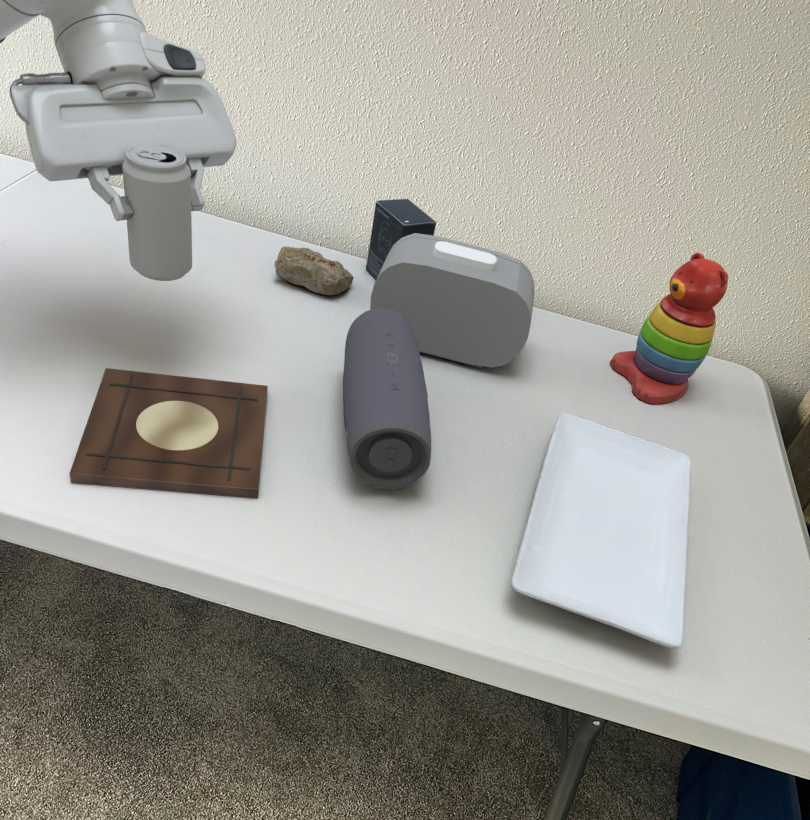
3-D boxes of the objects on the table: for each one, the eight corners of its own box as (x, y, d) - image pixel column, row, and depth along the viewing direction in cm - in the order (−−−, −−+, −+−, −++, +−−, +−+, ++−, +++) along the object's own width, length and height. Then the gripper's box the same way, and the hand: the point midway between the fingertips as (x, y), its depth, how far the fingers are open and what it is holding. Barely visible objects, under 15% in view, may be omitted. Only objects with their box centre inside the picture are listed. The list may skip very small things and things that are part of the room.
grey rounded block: (518, 344, 110) (547, 254, 101) (513, 380, 104) (544, 287, 94) (377, 308, 110) (393, 214, 101) (363, 341, 104) (379, 245, 94)
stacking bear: (604, 359, 112) (654, 240, 99) (662, 358, 115) (718, 242, 103) (641, 405, 105) (700, 283, 93) (702, 402, 108) (767, 284, 96)
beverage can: (189, 288, 82) (187, 172, 74) (125, 280, 81) (115, 161, 73) (195, 259, 87) (194, 146, 78) (134, 251, 85) (127, 136, 77)
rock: (338, 305, 109) (342, 276, 106) (264, 281, 110) (266, 252, 107) (355, 282, 114) (360, 254, 111) (284, 259, 115) (287, 231, 112)
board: (70, 482, 76) (68, 472, 75) (106, 376, 89) (105, 366, 88) (257, 498, 79) (258, 489, 78) (267, 394, 92) (267, 384, 91)
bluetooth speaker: (425, 502, 84) (446, 428, 77) (339, 494, 82) (351, 418, 75) (410, 379, 99) (426, 309, 92) (337, 371, 98) (348, 298, 91)
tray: (681, 474, 96) (694, 452, 93) (669, 670, 73) (685, 648, 71) (550, 430, 97) (559, 408, 95) (498, 609, 75) (508, 586, 72)
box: (423, 291, 116) (437, 221, 109) (390, 295, 114) (403, 224, 106) (396, 265, 120) (408, 196, 113) (364, 269, 118) (375, 199, 110)
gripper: (6, 55, 69) (64, 213, 71) (216, 53, 80) (261, 191, 82) (-3, 92, 74) (52, 238, 76) (196, 85, 85) (238, 213, 87)
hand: (162, 213), depth 79 cm, fingers closed on beverage can, 6 cm apart
